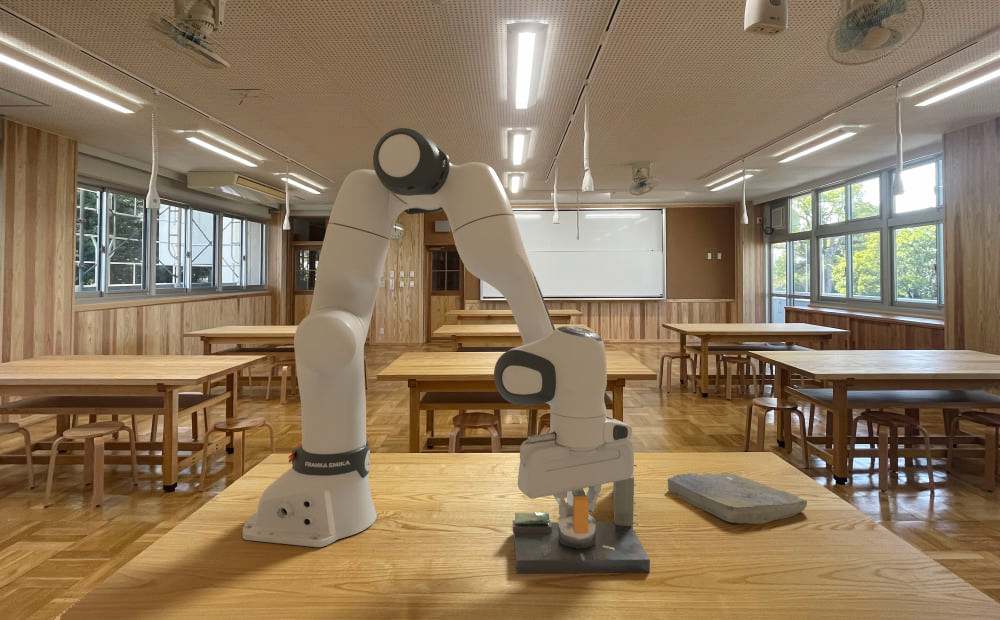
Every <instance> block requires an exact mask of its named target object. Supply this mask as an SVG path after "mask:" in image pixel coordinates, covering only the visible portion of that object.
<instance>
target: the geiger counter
mask: <svg viewBox="0 0 1000 620" xmlns="http://www.w3.org/2000/svg"><path fill="white" fill-rule="evenodd" d="M629 439H630V440H631V438H629ZM634 467H638V465H637V464H634ZM612 483H613V485H612V490H613V492H612V493H613V517H614V518H613V522H615V524H617V525H622V526H631V527H632V529H633V530H634V524H635V525H639V523H637V522H634V517H637V516H638V515H637V514H634V505H635V504H636V502H635V499H634V495H635V486H637V484H636V483H635V475H634V472H633V473H632V475H631V477H630V478H629V479H626V480H621V481H616V482H612Z"/></svg>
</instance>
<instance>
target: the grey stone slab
mask: <svg viewBox="0 0 1000 620" xmlns="http://www.w3.org/2000/svg"><path fill="white" fill-rule="evenodd" d="M667 490H668V492H670V493H671V495H672V494H673V495H674V496H676V497H678V498H680V499H681V500H684V502H686V503H688V504H691V505H693V506H694V507H695V508H699V509H700V510H703V511H704V512H707V513H709V514H712V515H713V516H715V517H717V518H718V519H721V520H723V521H724V522H725V521H726V522H727V523H733V524H740V525H741V524H747V525H749V524H750V525H759V524H760V525H761V524H763V525H764V524H767V523H770V522H771V523H772V521H777V520H783V519H787V518H790V517H793V516H796V515H798V514H800V513H802V512H803V511H804V510H805V509H806V508H807V506H808V500H807V499H803V498H801V497H799V496H797V495H795V494H792V493H790V492H788V491H785V490H781V489H780V490H779V489H776V488H774V487H771V486H768V485H766V484H763V483H760V482H758V481H755V480H753V479H749V478H747V477H744V476H740V475H736V474H733V473H729V472H721V473H718V474H716V473H714V474H713V473H702V474H698V473H695V472H690V473H681V474H676V475H673V476H672V477H668V478H667Z"/></svg>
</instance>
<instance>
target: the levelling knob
mask: <svg viewBox="0 0 1000 620" xmlns="http://www.w3.org/2000/svg"><path fill="white" fill-rule="evenodd" d="M586 495H587V493H586V492H585V490H584V488H582V489H578V490H573V491H568V492H567V498H566V499H567V503H568V504H569V505H571V506H572V516H571V517H568V518H563V517H561V516H560V515H559V516H558V520H557V522H558V539H559V541H560V542H561V543H562V544H564V545H566V546H569V547H573V548H586V547H590V546H592V545H593V544H594V543H595V542H596V522H597V520H596V519H595V518H594V516H592V515H590V514H589V513H590V512H589V500H588V498H587V496H586Z"/></svg>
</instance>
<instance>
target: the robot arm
mask: <svg viewBox="0 0 1000 620" xmlns="http://www.w3.org/2000/svg"><path fill="white" fill-rule="evenodd" d="M372 155H373V156H372V162H373V168H374V169H367V168H364V169H362V168H361V169H356V170H353V171H351V172H349V173H348V175H347V176H346V177H345V178H344V180H343V182H342V184H341V186H340V189H339V191H338V192H337V196H336V198H335V201H334V203H333V206H332V209H331V213H330V216H329V219H328V224H327V226H326V231H325V235H324V238H323V242H322V247H321V250H320V255H319V258H318V263H317V266H316V276H315V282H314V288H313V294H312V300H311V306H310V308H309V309H310V310H309V313H308V314H307V315H306V316H305V317H304V318H303V319H302V320H301V322H300V323H299V324H298V326H297V327H296V330H295V333H294V336H293V347H294V348H293V349H294V356H295V357H294V358H295V368H296V377H297V384H298V385H297V386H298V391H299V398H300V408H301V410H300V413H301V441H300V442H298V443H297V444H296V446H295V447H296V448H294V449H293V450H292V451H291V453H290V454H289V455H288V456H287V459H288V463H289V464H290V463H291V465H292V466H291V467H290V468H289V469H288V470H286V471H285V472H284V473H282V474H281V475H280V476H279V477H277V478H276V479H275V480H274V481H273V482H272V483H270V484H269V485H267V487H266V488H265V490H264V491H263V492H262V494H261V495H260V498H259V501H258V504H257V507H256V508H257V509H256V511H255V512H254V513H253V514H252V515H251V516H249V517H248V519H247V520H246V521H245V523H244V525H243V527H242V532H241V533H242V534H241V535H242V539H243V540H246V541H253V542H254V541H255V542H264V543H274V544H281V545H282V544H283V545H284V544H285V545H294V546H302V547H303V546H304V547H311V548H312V547H314V548H322V547H325V546H329V545H330V544H332V543H334V542H336V541H338V540H339V539H343V538H346V537H350V536H353V535H356V534H359V533H360V532H362V531H364V530H366V529H368V528H369V527H370V526H371V525H373V524H374V523H375V521H376V520H377V517H378V516H377V511H376V508H375V505H374V501H373V498H372V497H373V496H372V491H371V485H370V479H369V473H370V468H371V451H370V442H369V440H368V439H367V398H366V382H365V381H366V378H365V357H364V355H365V352H364V350H365V343H366V341H367V337H368V334H369V333H368V332H369V329H370V325H371V320H372V316H373V312H374V308H375V304H376V301H377V295H378V292H379V289H380V284H381V280H382V277H383V273H384V268H385V265H386V264H385V263H386V260H387V256H388V253H389V248H390V245H391V240H392V237H393V231H394V228H395V224H396V221H397V219H398V217H399V216H400V214H401V213H403V212H405V214H408V215H415V214H416V215H417V214H418V215H419V214H433V213H438V212H442V211H443V212H444V213H445V215H446V217H447V220H448V223H449V226H450V229H451V233H452V236H453V237H452V238H453V240H454V245H455V248H456V250H457V253H458V255H459V258H460V260H461V262H462V263H463V266H464V267H465V269H466V270H467V271H468V273H470V274H472V275H473V276H475V278H477V279H479V280H481V281H483V282H485V283H487V285H489V286H491V287H492V288H494V289H495V290H497V291H498V292H499V293H500V294H501V295H502V296H503V297H504V300H506V302H507V303H508V305H509V308H510V311H511V313H512V315H513V318H514V322H515V324H516V326H517V329H518V331H519V334H520V337H521V339H522V345H520V346H519V345H518V346H516V347H513V348H511V349H509V350H507V351H506V352H504V353H502V354H501V355H500V356H499V358H498V359H497V361H496V363H495V365H494V369H493V380H494V384H495V387H496V389H497V391H498V393H499V394H500V396H501V397H502V398H503V399H504V400H505V401H507V402H509V403H510V404H514V405H517V406H531V405H541V404H548V405H549V407H550V408H549V409H550V413H549V414H550V417H549V422H550V423H549V424H550V425H549V426H550V428H549V432H546V433H541V434H537V435H536V434H533V435H530V436H528V437H527V439H525V440H524V441H523V442H522V443H521V445H520V447H519V459H520V460H519V465H518V466H519V467H518V475H517V486H518V487H517V488H518V489H519V490H520V492H521V493H522V494H523V495H525V496H526V497H527V498H528V499H531V500H534V499H538V498H543V497H549V496H553V497H554V500H556V502H557V504H558V514H559V516H561V517H563V518H568V517H571V516H572V506H571V505H569V504H568V503H567V502H566V500H565V499H567V492H568V491H573V490H578V489H582V488H583V489H586V488H587V489H588V490H587V492H586V496H587V498H588V500H589V513H592V512H595V509H596V507H595V506H596V501H597V499H598V497H599V495H600V494H601V492H602V485H606V484H611V483H613V482H616V481H621V480H626V479H629V478H630V477H631V475H632V473H633V474H634V469H635V468H634V467H635V466H634V465H635V454H634V444H633V442H632V441H631V438H632V435H633V426H631V425H629V424H628V423H626V422H623V421H621V420H619V419H615V418H613V417H610V416H607V406H606V403H605V394H606V393H605V392H606V389H607V385H608V382H607V381H608V376H607V375H608V372H607V370H608V369H607V367H608V365H607V354H606V347H605V343H604V340H603V339H602V337H601V336H600V335H599V333H596V332H594V331H593V330H591V329H587V328H583V327H578V326H568V325H567V326H566V325H565V326H563V325H562V326H558V327H557V328H555V325H554V322H553V319H552V317H551V315H550V312H549V308H548V307H547V304H546V302H545V299H544V296H543V293H542V291H541V288H540V286H539V282H538V281H537V278H536V276H535V273H534V271H533V268H532V266H531V264H530V263H531V262H530V260H529V258H528V255H527V252H526V249H525V246H524V243H523V240H522V236H521V233H520V229H519V226H518V224H517V220H516V217H515V214H514V210H513V208H512V205H511V202H510V199H509V197H508V194H507V192H506V189H505V188H504V186H503V183H502V182H501V179H500V178H499V176H498V174H497V173H496V171H495V169H493V167H492V166H490V165H489V164H487V163H484V162H477V161H472V162H466V163H463V164H458V165H457V164H454V163H451V161H450V157H449V155H448V154H447V153H446V152H445V151H444V150H443V149H441V148H440V147H439V145H437V144H436V143H435V142H434V141H433V140H432V139H431V138H430V137H428V136H427V135H425V134H423V133H422V132H421V131H418V130H415V129H412V128H409V127H399V128H395V129H392V130H390V131H388V132H386V133H385V134H384V135H383V136H382V137H381V138H380V139H379V140H378V142H377V144H376V145H375V148H374V150H373V154H372ZM629 438H630V439H629Z"/></svg>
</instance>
